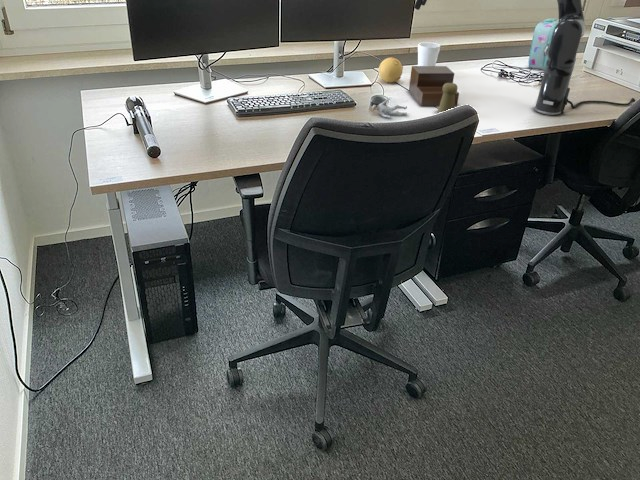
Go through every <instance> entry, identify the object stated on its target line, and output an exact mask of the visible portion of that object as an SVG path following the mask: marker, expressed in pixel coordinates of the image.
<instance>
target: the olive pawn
mask: <svg viewBox="0 0 640 480" xmlns="http://www.w3.org/2000/svg"><path fill="white" fill-rule="evenodd" d="M442 89H443V95H442V99H441V102H440V106H438V109H437V114H438V113H439V112H442V111H446V110H448V109H451V108H454V109H455V107H456V106H455V93H456V92H458V89H459V88H458V85H457V84H456V83H454V82H453V83H445V84H444V85H443V88H442Z"/></svg>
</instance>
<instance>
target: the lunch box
mask: <svg viewBox="0 0 640 480" xmlns="http://www.w3.org/2000/svg"><path fill="white" fill-rule="evenodd" d="M558 22H559V18H553V17H549V18H546V19H544V20H542V21H540V22H539V23H537V25H536V26H535V28H534V30H533V35H532V39H531V45H530V51H529V56H528V68H530V69H531V68H532V69H538V70H543V71H545V68H546V64H547V60H548V51H549V47H550V43H551V39H552V35H553V31H554V29H555V27H556V25H557V24H558Z"/></svg>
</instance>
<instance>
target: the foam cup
mask: <svg viewBox="0 0 640 480" xmlns="http://www.w3.org/2000/svg"><path fill="white" fill-rule="evenodd" d="M440 51H441V44H439V43H437V42H430V41H424V42H423V41H422V42H419V43H418V44H417V66H437V65H436V64H437V61H438V57H439V53H440Z"/></svg>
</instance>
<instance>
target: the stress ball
mask: <svg viewBox="0 0 640 480" xmlns="http://www.w3.org/2000/svg"><path fill="white" fill-rule="evenodd" d="M403 70H404V65H403V64H402V63H401V62H400V60H399V59H397V58H395V57H393V56H390V57H386V58H384V59H383V60H382V61H381V62H380V64H379V66H378V75H379V77H380V79H381V80H383V81H384V82H386V83H396V82H398V81H399V80H400V79H401V78H402V75H403Z"/></svg>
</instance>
